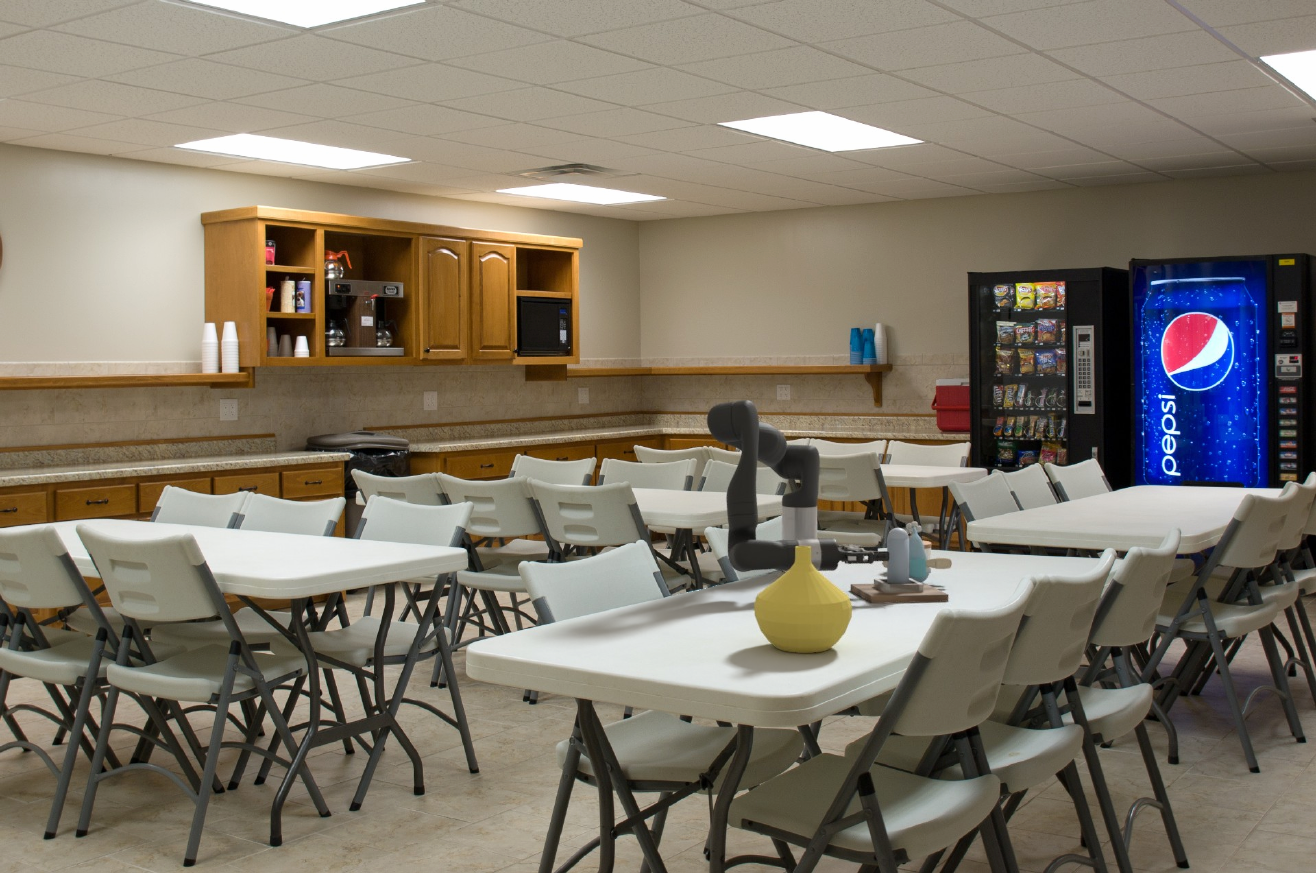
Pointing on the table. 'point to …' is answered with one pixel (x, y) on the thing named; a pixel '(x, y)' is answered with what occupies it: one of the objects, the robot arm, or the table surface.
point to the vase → (803, 608)
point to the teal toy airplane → (921, 556)
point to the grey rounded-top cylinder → (898, 557)
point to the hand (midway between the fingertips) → (883, 553)
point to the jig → (898, 592)
